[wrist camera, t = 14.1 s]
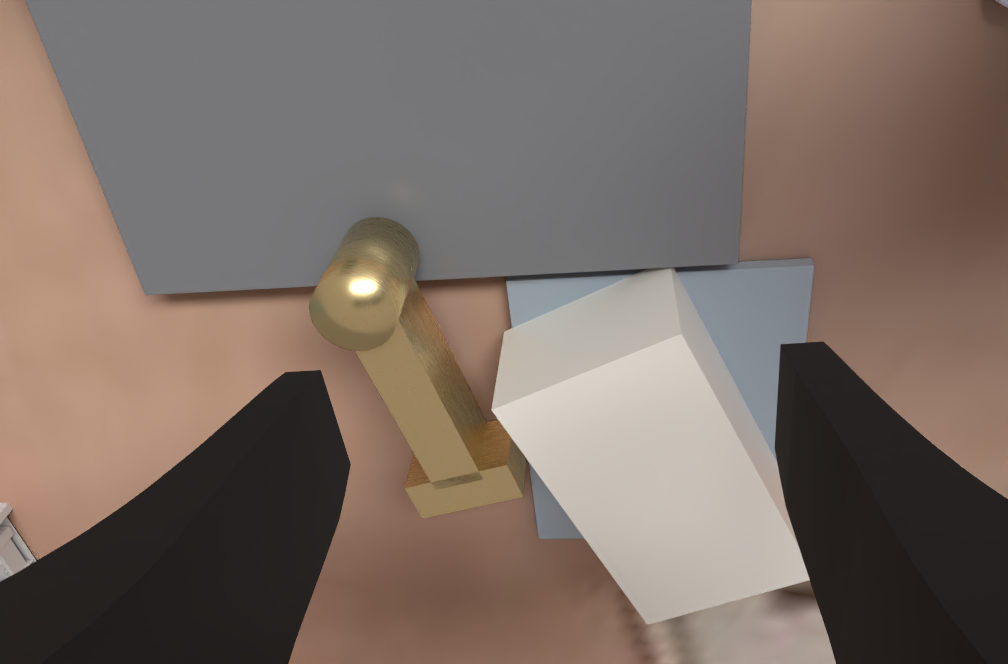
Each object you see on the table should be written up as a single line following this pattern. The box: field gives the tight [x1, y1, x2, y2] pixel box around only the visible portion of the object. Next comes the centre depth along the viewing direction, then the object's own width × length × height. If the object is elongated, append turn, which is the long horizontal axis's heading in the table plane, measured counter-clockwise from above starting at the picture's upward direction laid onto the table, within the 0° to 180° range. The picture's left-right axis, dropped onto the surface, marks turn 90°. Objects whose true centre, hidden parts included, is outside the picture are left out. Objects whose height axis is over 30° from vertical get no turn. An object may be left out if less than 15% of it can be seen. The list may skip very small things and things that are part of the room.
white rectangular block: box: [491, 267, 810, 625], centre depth 23 cm, size 5×9×4 cm, turn 30°
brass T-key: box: [309, 217, 527, 519], centre depth 21 cm, size 8×3×3 cm, turn 21°
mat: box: [506, 258, 814, 539], centre depth 24 cm, size 8×10×1 cm
